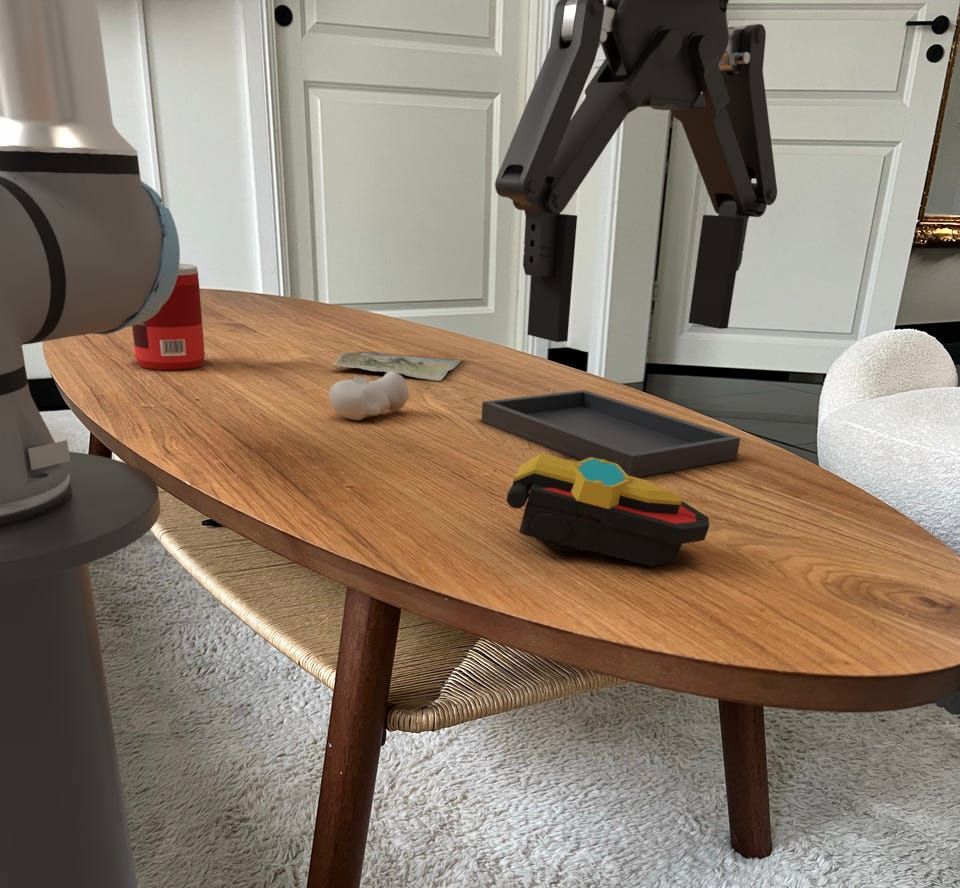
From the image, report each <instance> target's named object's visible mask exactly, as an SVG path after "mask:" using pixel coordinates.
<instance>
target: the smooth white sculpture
mask: <svg viewBox="0 0 960 888" xmlns="http://www.w3.org/2000/svg"><path fill="white" fill-rule="evenodd" d="M328 400H329V403H330V406H331V408H332V410H333V411H334V412H335V413H336V414H337V415H339V416H340V417H343V418H345V419H348V420H353V421H362V420H364V419H369V418H371V417H374V416H378V415H379V414H380V413H383V412H386V411H389V412H391V413H395V412H399V411H400V410H401V409H403V408H404V406H405V405H406V404H407V403H408V400H409V388H408V385H407V383H406V380H405V378H404V376H402V374H398V373H395V372H393V371H389V372H385V374H384V375H383V376H382V377H381V378H378V379H375V380H368V379H366V378H364V377H362V376H355V377H354V378H353V379H343V380H339V381H337V382H335V383H334V384H333V385H332V386H331V387H330V389H329V393H328Z"/></svg>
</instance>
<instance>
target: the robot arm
mask: <svg viewBox="0 0 960 888" xmlns="http://www.w3.org/2000/svg"><path fill="white" fill-rule="evenodd" d="M729 1H730V0H606V1H605V2H604V0H558V1H557V3H556V4H555V7H554V12H553V20H552V28H551V36H550V41H549V48H548V50H547V53H546V55H545V58H544V60H543V63H542V65H541V68H540V70H539V73H538V74H537V78H536V80H535V82H534V85H533V88H532V90H531V93H530V95H529V97H528V99H527V102H526V104H525V107H524V109H523V112H522V115H521V117H520V118H519V119H520V120H519V121H518V124H517V126H516V129H515V132H514V134H513V137H512V139H511V141H510V144H509V145H508V149H507V151H506V154H505V156H504V158H503V161H502V164H501V166H500V168H499V171H498V173H497V175H496V178H495V182H494V187H495V191H496V194H497V195H498V196H500V197H501V198H507V199H509V200H511V201H512V205H513V207H514V208H515V209H517V210H518V211H523V212H524V215H525V222H524V240H523V241H524V242H523V245H524V246H523V257H522V266H523V271H524V275H526V276H530V287H529V302H528V303H529V304H528V305H529V306H528V320H527V336H530V337H534V338H539V339H543V340H546V341H551V342H555V343H564V342H568V338H569V328H570V327H569V326H570V314H571V303H572V301H571V300H572V289H573V288H572V287H573V277H574V263H575V250H576V238H577V226H578V214H576V215H575V214H567V213H565V214H564V213H562V212H563V211H564V210H565V208H567V206H568V204H569V203H570V201H571V199H572V198H573V196H574V195H575V194H576V192H577V191H578V189H579V188H580V186H581V185H582V183H583V182H584V180H585V179H586V178H587V176H588V174H589V173H590V172H591V170H592V168H593V166H594V165H595V163H596V162H597V161H598V159H599V158H600V156H601V154H602V153H603V152H604V151H605V148H606V147H607V146H608V144H609V143H610V141H611V139H612V138H613V137H614V135H615V134H616V132H617V130H618V129H619V128H620V126H621V125H622V123H623V122H624V120H625V118H626V117H627V116H628V114H630V113H631V112H633V111H635V110H637V109H638V108H651V109H653V110H657V111H659V110H660V111H670V112H671V115H672V116H673V117H674V119H676V120H678V121H679V122H680V123H681V125H682V127H683V130H684V133H685V136H686V138H687V141H688V143H689V147H690V149H691V151H692V155H693V157H694V160H695V163H696V165H697V167H698V171H699V172H700V176H701V178H702V181H703V184H704V186H705V189H706V191H707V194H708V198H709V200H710V202H711V205H712V207H713V210H714V212H715V213H716V214H717V215H715V214H703V215H702V220H701V226H700V227H701V228H700V234H699V243H698V248H697V249H698V250H697V257H696V265H695V272H694V279H693V287H692V295H691V302H690V310H689V317H688V324H692V325H698V326H703V327H708V328H714V329H718V330H721V329H722V330H723V329H729V323H730V315H731V309H732V304H733V303H732V302H733V297H734V289H735V282H736V277H737V276H736V275H737V272H738V271H739V270H740V267H741V264H742V261H743V254H744V248H745V246H744V245H745V242H746V235H747V230H748V229H747V228H748V223H749V219H750V217H752V218H760V217H762V216H763V215H765V212H766V210H767V206H771V205H773V204H774V203H775V201H776V199H777V196H778V186H777V177H776V170H775V169H776V168H775V161H774V152H773V144H772V135H771V128H770V119H769V110H768V104H767V103H768V102H767V93H766V86H765V77H764V61H765V49H766V38H767V34H766V33H767V32H766V28H765V26H764V25H763V24H761V23H756V24H747V25H737V26H728V18H727V9H728V3H729ZM99 14H100V13H99V6H98V0H0V528H1V527H6V526H10V525H14V524H18V523H22V522H25V521H29V520H32V519H35V518H38V517H40V516H43V515H45V514H48V513H50V512H52V511H54V510H56V509H58V508H59V507H61V506H62V505H63V504H65V503H66V502H67V501H68V500H69V498H70V497H71V494H72V488H71V482H70V475H69V470H68V468H67V466H66V463H65V462H68V461H70V456H69V452H70V450H69V444H68V439H66V440H61V441H57V442H55V440H54V437H53V436H52V433H51V432H50V430H49V428H48V426H47V424H46V422H45V421H44V418H43V416H42V415H41V412H40V411H39V409H38V407H37V405H36V403H35V401H34V399H33V397H32V394H31V391H30V388H29V387H30V386H29V381H28V375H27V368H26V362H25V356H24V349H23V346H25V345H32V344H37V343H43V342H49V341H55V340H61V339H65V338H71V337H77V336H85V335H91V334H94V335H110V334H115V333H117V332H119V331H121V330H124V329H125V328H129V327H132V326H133V325H137V324H140V323H143V322H145V321H147V320H149V319H150V318H152V317H153V316H154V315H156V314H157V313H158V312H159V310H160V309H161V307H162V306H163V305H164V304H165V302H167V300H168V299H169V297H170V295H171V293H172V291H173V289H174V286H175V283H176V280H177V276H178V271H179V263H180V262H181V261H180V259H181V247H180V239H179V234H178V230H177V226H176V223H175V220H174V216H173V215H172V213H171V211H170V209H169V208H168V207H167V206H166V207H165V206H164V204H162V202H163V199H162V197H161V196H160V194H159V193H158V192H157V191H156V190H155V189H154V188H152V187H151V186H150V185H149V184H147V183H145V182H144V181H143V180H142V179H141V172H140V171H141V170H140V165H139V164H140V163H139V156H138V155H139V154H138V151H137V150H136V149H135V148H134V146H133V145H132V144H131V143H129V141H127V140H126V138H124V136H122V135H121V133H120V132H119V131H118V130H117V128H116V127H115V125H114V121H113V114H112V107H111V98H110V91H109V84H108V76H107V69H106V61H105V52H104V45H103V37H102V30H101V23H100V15H99ZM600 46H601V49H602V51H603V55H604V57H605V59H604V60H603V62H602V63H601V65H600V66H599V68H598V69H597V71H596V72H595V74H594V76H593V77H592V78H591V80H590V81H589V82H588V84H587V80H588V79H589V76H590V74H591V71H592V69H593V66H594V64H595V60H596V57H597V54H598V51H599V48H600ZM586 84H587V86H586ZM585 86H586V87H585ZM584 88H585V89H584ZM583 91H584V95H585V97H584V99H583V101H582V102H581V103H580V105H579V106H578V108H577V110H576V107H577V105H578V102H579V100H580V97H581V96H582V93H583ZM575 110H576V111H575ZM752 180H755V181H756V182H752Z"/></svg>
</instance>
